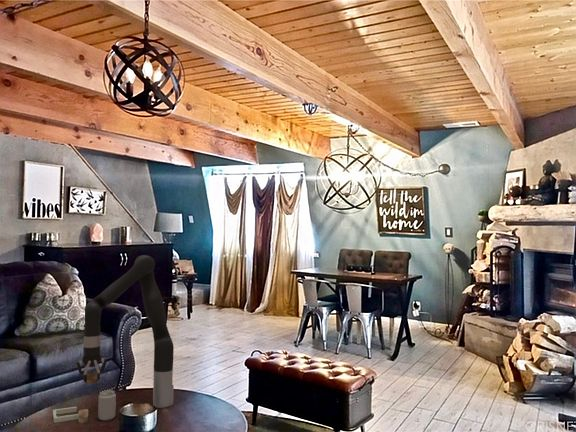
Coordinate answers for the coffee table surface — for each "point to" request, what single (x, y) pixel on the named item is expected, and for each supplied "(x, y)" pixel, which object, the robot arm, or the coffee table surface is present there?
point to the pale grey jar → (106, 405)
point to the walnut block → (91, 377)
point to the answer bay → (65, 418)
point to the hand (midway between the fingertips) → (91, 381)
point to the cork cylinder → (83, 416)
